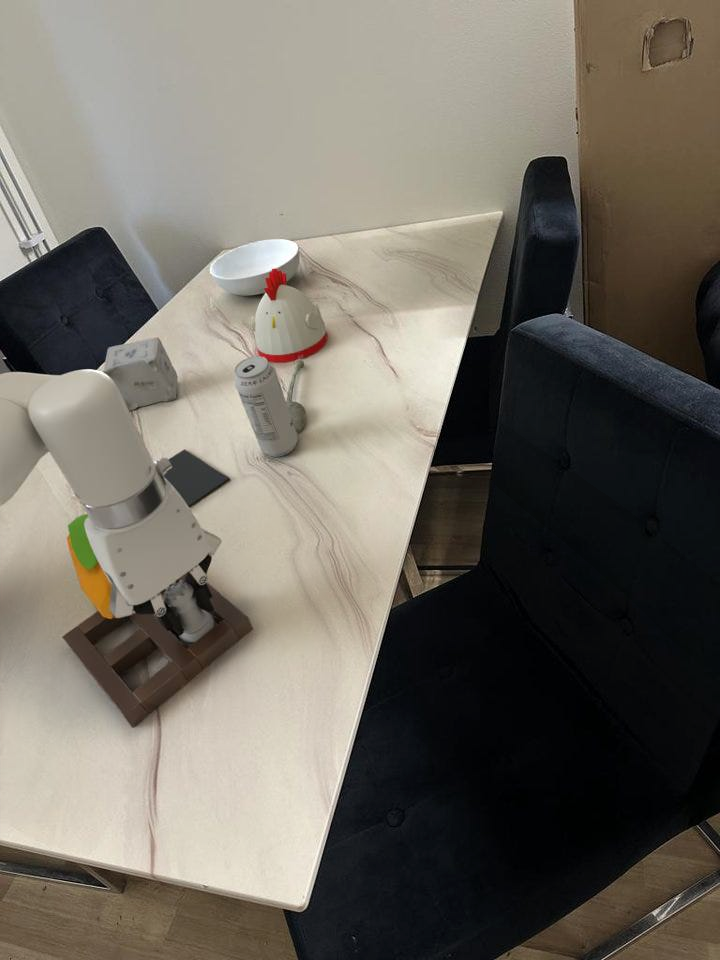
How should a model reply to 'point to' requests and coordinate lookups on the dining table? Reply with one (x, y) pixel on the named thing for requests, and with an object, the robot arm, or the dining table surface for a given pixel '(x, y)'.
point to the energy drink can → (265, 406)
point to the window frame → (145, 642)
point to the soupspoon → (294, 407)
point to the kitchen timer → (287, 323)
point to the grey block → (141, 372)
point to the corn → (89, 568)
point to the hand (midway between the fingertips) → (190, 615)
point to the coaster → (193, 477)
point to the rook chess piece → (188, 612)
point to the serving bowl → (254, 265)
